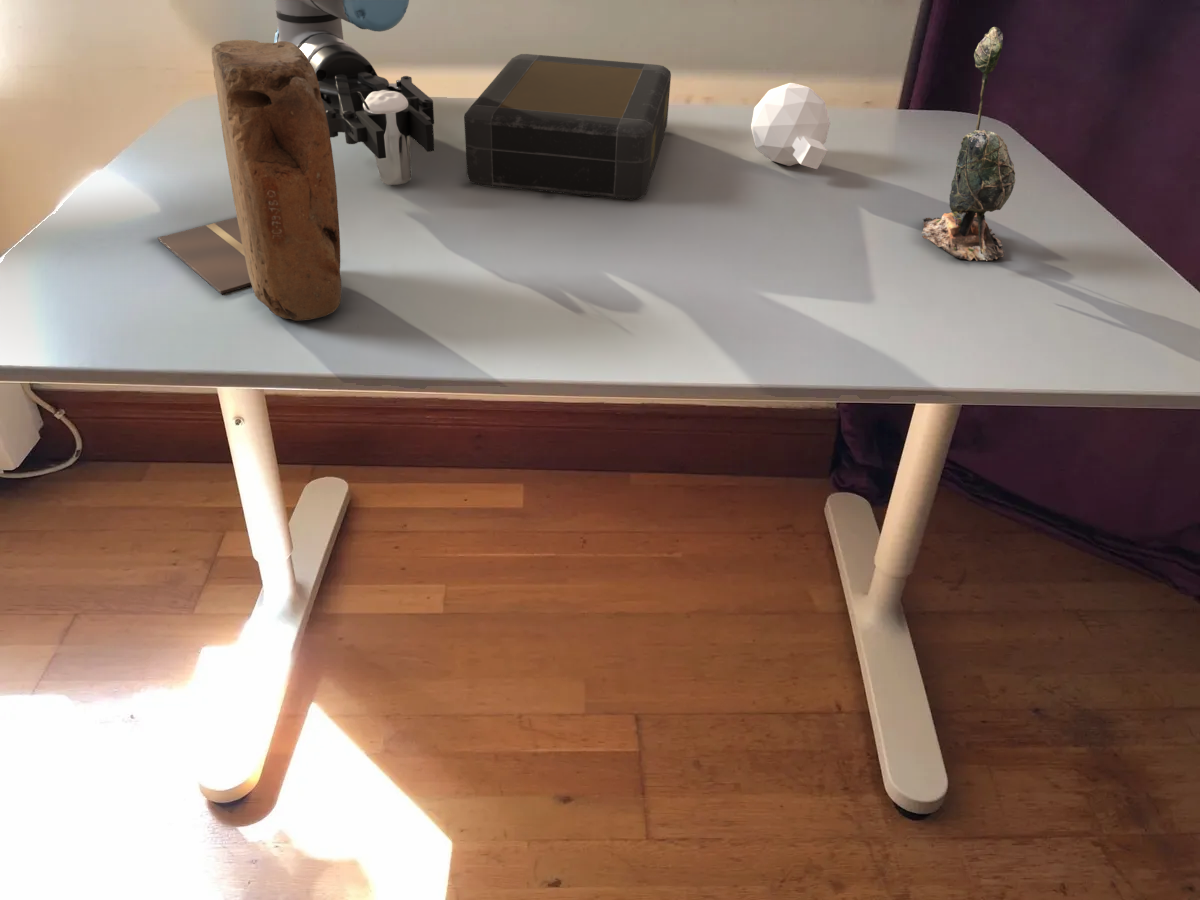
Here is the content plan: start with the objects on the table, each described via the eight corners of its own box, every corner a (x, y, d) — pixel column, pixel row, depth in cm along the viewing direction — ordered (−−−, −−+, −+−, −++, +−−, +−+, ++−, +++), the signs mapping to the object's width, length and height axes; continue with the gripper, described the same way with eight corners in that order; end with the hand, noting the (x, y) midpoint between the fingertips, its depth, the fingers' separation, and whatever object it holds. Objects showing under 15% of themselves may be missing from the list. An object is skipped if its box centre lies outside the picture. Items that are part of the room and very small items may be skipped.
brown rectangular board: (158, 240, 89) (157, 236, 89) (258, 214, 95) (257, 210, 95) (221, 294, 81) (220, 290, 81) (326, 262, 87) (326, 258, 87)
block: (245, 272, 84) (200, 33, 71) (331, 260, 87) (302, 28, 74) (264, 334, 76) (218, 80, 64) (358, 319, 79) (331, 72, 67)
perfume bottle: (727, 133, 114) (762, 183, 106) (763, 59, 108) (803, 106, 100) (787, 151, 117) (825, 200, 109) (824, 80, 112) (868, 127, 104)
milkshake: (359, 182, 102) (344, 87, 96) (398, 167, 105) (385, 74, 99) (387, 194, 99) (373, 96, 93) (426, 178, 103) (415, 83, 96)
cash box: (510, 113, 122) (509, 50, 118) (667, 127, 120) (672, 64, 116) (457, 186, 103) (453, 113, 98) (644, 204, 100) (649, 131, 96)
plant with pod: (917, 264, 92) (974, 45, 79) (920, 219, 100) (972, 15, 88) (1005, 278, 90) (1078, 56, 78) (1000, 231, 99) (1065, 25, 87)
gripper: (411, 101, 117) (487, 166, 101) (266, 118, 110) (324, 190, 94) (406, 36, 112) (485, 93, 96) (254, 50, 105) (313, 113, 89)
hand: (405, 141), depth 95 cm, fingers closed on milkshake, 4 cm apart
